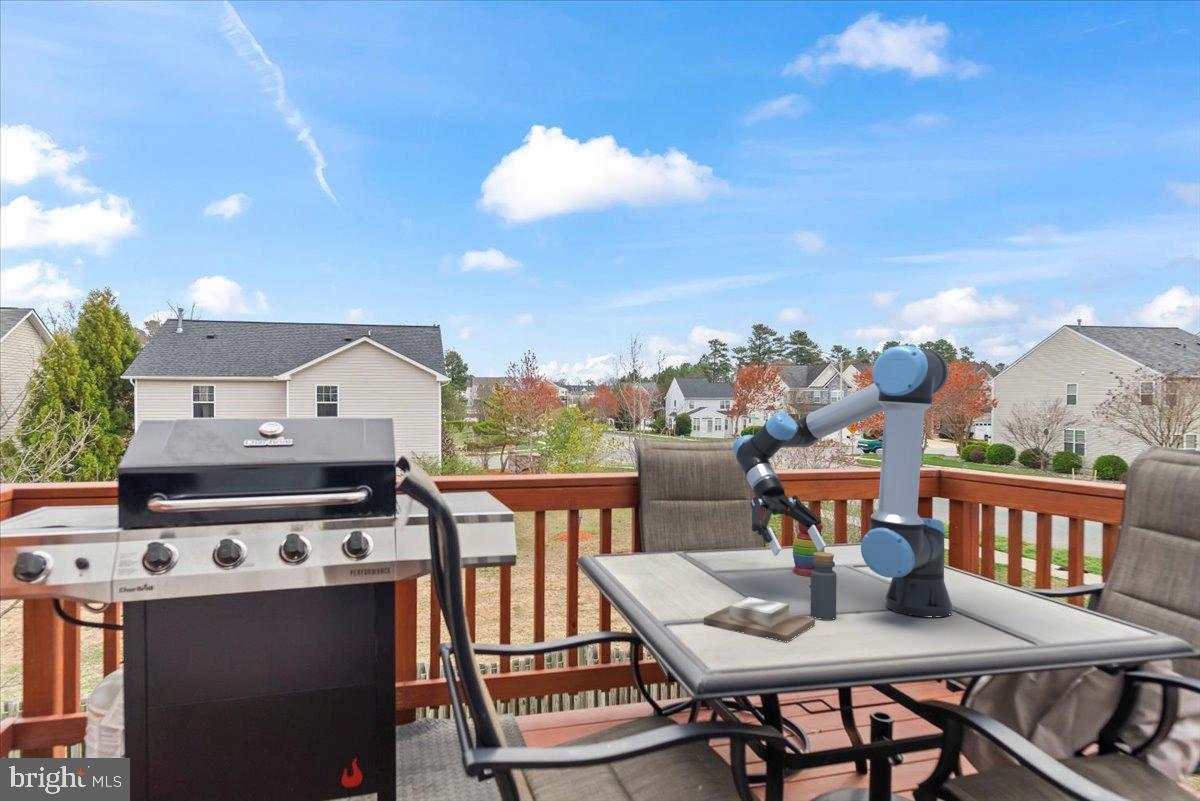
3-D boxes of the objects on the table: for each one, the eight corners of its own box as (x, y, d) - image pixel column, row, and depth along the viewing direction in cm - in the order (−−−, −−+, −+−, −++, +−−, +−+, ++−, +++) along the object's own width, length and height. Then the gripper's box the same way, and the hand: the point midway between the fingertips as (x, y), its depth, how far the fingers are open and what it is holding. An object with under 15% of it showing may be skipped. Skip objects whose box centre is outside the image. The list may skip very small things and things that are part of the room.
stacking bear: (832, 577, 208) (832, 517, 208) (798, 577, 208) (798, 517, 208) (820, 569, 219) (820, 512, 219) (788, 569, 219) (788, 512, 219)
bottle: (823, 621, 163) (823, 557, 163) (805, 615, 168) (805, 552, 169) (841, 618, 166) (842, 555, 166) (823, 612, 171) (823, 550, 171)
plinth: (814, 625, 160) (815, 605, 160) (786, 642, 148) (787, 620, 148) (735, 609, 172) (735, 590, 173) (703, 624, 160) (703, 603, 160)
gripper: (797, 491, 196) (833, 556, 182) (720, 494, 187) (752, 562, 172) (809, 474, 191) (847, 539, 177) (731, 476, 182) (765, 544, 168)
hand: (800, 550), depth 175 cm, fingers open, 13 cm apart
